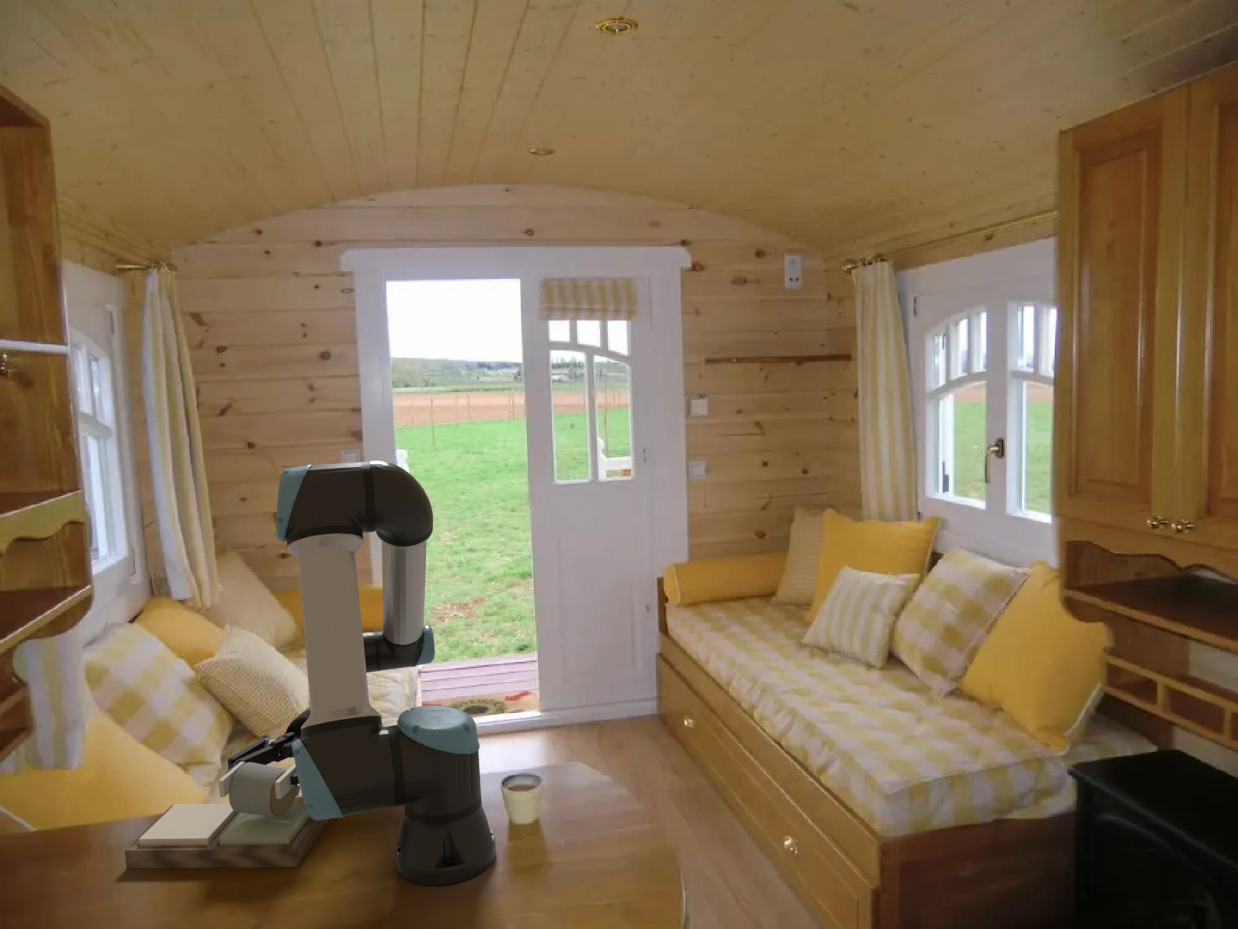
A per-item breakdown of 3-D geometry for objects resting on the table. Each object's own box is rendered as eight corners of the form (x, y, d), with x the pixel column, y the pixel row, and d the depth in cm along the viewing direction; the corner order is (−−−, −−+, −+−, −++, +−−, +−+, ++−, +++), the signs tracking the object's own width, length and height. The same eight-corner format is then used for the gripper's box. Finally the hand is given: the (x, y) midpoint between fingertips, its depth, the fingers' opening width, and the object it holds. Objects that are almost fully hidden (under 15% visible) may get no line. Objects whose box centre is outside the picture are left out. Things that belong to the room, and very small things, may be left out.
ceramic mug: (275, 826, 146) (271, 778, 145) (229, 821, 148) (225, 774, 147) (313, 795, 156) (310, 750, 155) (270, 790, 158) (266, 746, 157)
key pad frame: (328, 820, 158) (327, 803, 157) (296, 867, 144) (295, 848, 143) (173, 822, 159) (171, 805, 159) (126, 868, 145) (124, 850, 145)
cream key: (240, 819, 157) (239, 803, 156) (209, 855, 146) (207, 838, 146) (176, 820, 157) (174, 804, 157) (140, 856, 146) (138, 839, 146)
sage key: (316, 818, 156) (314, 802, 156) (290, 854, 145) (288, 837, 145) (251, 819, 157) (249, 803, 156) (220, 855, 146) (219, 838, 145)
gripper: (373, 750, 166) (316, 814, 144) (260, 748, 169) (187, 810, 147) (370, 710, 165) (313, 768, 143) (257, 708, 168) (183, 765, 146)
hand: (249, 789), depth 145 cm, fingers closed on ceramic mug, 9 cm apart
